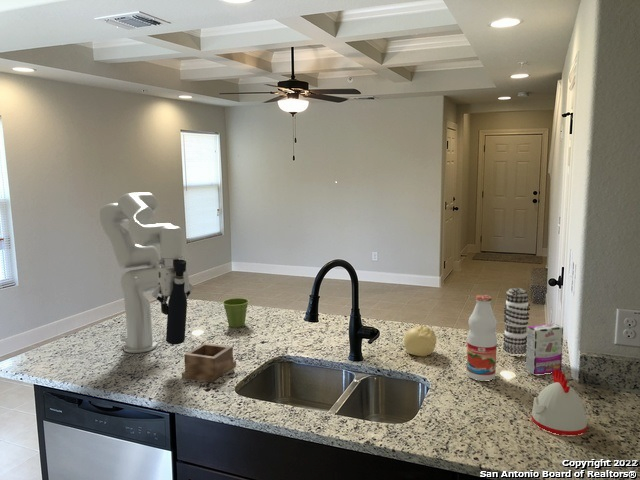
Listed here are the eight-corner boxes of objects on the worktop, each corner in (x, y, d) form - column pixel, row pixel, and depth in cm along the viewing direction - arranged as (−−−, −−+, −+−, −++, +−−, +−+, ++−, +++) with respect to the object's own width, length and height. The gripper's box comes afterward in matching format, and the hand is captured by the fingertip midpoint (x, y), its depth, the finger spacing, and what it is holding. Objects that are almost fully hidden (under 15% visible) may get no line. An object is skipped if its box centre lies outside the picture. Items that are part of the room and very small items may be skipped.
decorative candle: (533, 356, 191) (536, 291, 188) (512, 358, 189) (515, 293, 185) (517, 347, 200) (520, 285, 196) (496, 350, 198) (499, 287, 194)
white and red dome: (570, 411, 149) (573, 362, 146) (597, 436, 135) (601, 382, 133) (523, 412, 148) (525, 363, 146) (545, 437, 134) (548, 383, 132)
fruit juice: (496, 373, 176) (500, 294, 172) (493, 384, 167) (497, 301, 163) (468, 369, 179) (471, 291, 175) (464, 379, 171) (466, 298, 167)
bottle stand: (181, 377, 175) (180, 356, 174) (207, 360, 190) (206, 341, 189) (212, 382, 171) (211, 360, 170) (236, 364, 185) (235, 344, 184)
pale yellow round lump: (434, 360, 188) (434, 332, 186) (401, 357, 192) (401, 329, 190) (437, 350, 198) (438, 323, 197) (406, 346, 202) (407, 320, 201)
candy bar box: (551, 367, 180) (554, 322, 178) (561, 373, 176) (564, 327, 173) (524, 371, 177) (526, 325, 175) (533, 377, 173) (536, 330, 170)
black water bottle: (179, 346, 178) (184, 266, 169) (162, 342, 179) (167, 262, 170) (187, 338, 184) (193, 260, 175) (171, 333, 185) (176, 256, 176)
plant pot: (221, 323, 235) (220, 299, 234) (247, 320, 239) (246, 297, 237) (225, 330, 224) (224, 305, 222) (251, 328, 228) (251, 303, 226)
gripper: (153, 267, 168) (155, 319, 171) (199, 260, 180) (201, 309, 183) (143, 263, 174) (145, 314, 177) (188, 257, 185) (190, 305, 188)
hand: (174, 311), depth 180 cm, fingers closed on black water bottle, 6 cm apart
